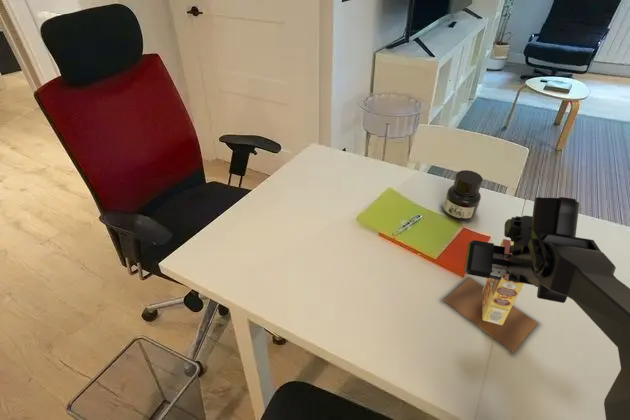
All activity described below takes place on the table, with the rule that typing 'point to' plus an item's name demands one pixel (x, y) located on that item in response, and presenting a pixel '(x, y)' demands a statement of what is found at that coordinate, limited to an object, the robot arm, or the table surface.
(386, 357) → the table surface
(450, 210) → the ink bottle
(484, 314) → the candy box
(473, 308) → the cork mat
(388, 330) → the table surface
